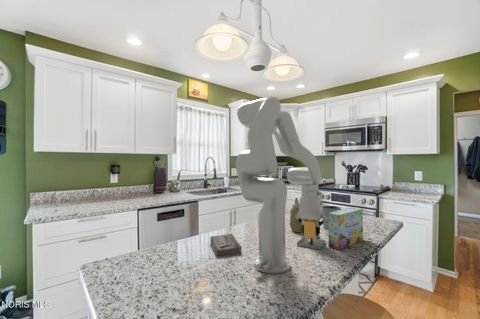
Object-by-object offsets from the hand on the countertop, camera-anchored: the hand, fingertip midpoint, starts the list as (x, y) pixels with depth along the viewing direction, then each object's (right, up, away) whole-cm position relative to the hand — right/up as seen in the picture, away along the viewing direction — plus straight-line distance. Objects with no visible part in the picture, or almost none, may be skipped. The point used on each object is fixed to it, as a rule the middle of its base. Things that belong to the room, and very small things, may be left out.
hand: (311, 233), depth 104 cm
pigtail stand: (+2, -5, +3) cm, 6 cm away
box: (-39, -6, -3) cm, 40 cm away
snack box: (+16, -5, 0) cm, 17 cm away
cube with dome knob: (0, -1, 0) cm, 1 cm away
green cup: (+19, -5, +24) cm, 31 cm away
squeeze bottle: (-1, -5, +20) cm, 21 cm away
